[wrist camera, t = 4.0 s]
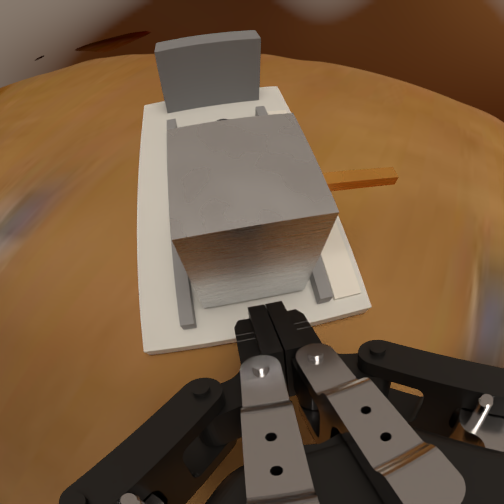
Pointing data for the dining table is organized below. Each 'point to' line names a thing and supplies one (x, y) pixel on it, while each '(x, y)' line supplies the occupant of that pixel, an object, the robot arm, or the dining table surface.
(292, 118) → the gauge carriage
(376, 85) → the dining table surface
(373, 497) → the robot arm
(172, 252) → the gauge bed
